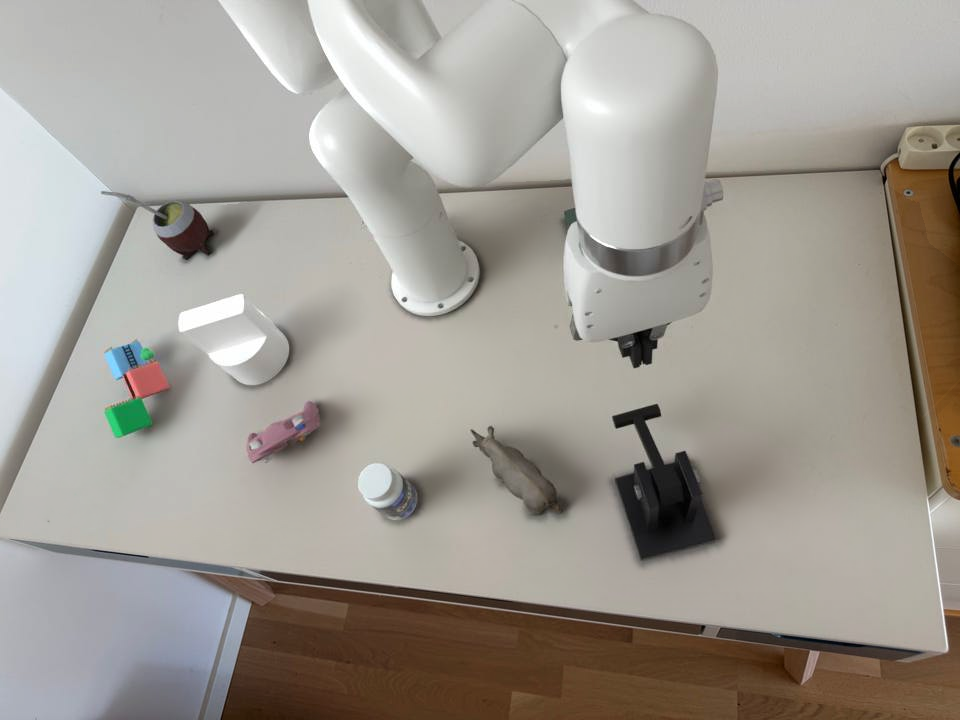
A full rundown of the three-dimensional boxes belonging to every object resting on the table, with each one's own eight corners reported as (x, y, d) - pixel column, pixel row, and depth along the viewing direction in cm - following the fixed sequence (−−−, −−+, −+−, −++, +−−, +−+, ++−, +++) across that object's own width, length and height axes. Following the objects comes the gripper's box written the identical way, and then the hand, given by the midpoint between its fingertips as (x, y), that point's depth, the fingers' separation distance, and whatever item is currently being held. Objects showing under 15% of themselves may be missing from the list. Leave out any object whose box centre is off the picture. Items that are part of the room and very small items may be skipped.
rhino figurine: (490, 425, 80) (479, 406, 74) (570, 504, 73) (565, 489, 68) (465, 448, 79) (453, 430, 74) (544, 530, 72) (537, 517, 67)
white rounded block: (230, 392, 90) (177, 353, 80) (229, 338, 94) (179, 294, 84) (291, 374, 89) (245, 332, 79) (287, 321, 94) (243, 274, 83)
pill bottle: (413, 523, 76) (389, 505, 69) (376, 517, 77) (348, 498, 70) (422, 484, 78) (400, 462, 71) (386, 478, 79) (360, 456, 72)
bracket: (614, 481, 73) (610, 446, 63) (684, 462, 72) (692, 423, 62) (640, 561, 69) (640, 537, 59) (715, 542, 68) (728, 514, 58)
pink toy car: (266, 466, 85) (247, 471, 78) (249, 435, 86) (229, 438, 79) (332, 428, 86) (319, 430, 79) (315, 398, 86) (301, 397, 79)
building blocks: (164, 419, 96) (131, 343, 95) (181, 413, 90) (147, 332, 89) (108, 441, 91) (73, 361, 90) (123, 436, 85) (85, 350, 84)
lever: (613, 425, 72) (610, 410, 70) (658, 413, 71) (655, 397, 70) (647, 510, 62) (643, 494, 60) (699, 496, 61) (696, 480, 60)
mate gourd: (227, 239, 104) (168, 174, 91) (191, 275, 102) (125, 213, 89) (201, 220, 107) (141, 154, 94) (166, 254, 105) (99, 192, 92)
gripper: (732, 142, 42) (706, 293, 58) (510, 209, 44) (544, 339, 60) (780, 229, 39) (738, 365, 54) (536, 300, 40) (565, 412, 56)
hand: (637, 351), depth 57 cm, fingers closed
